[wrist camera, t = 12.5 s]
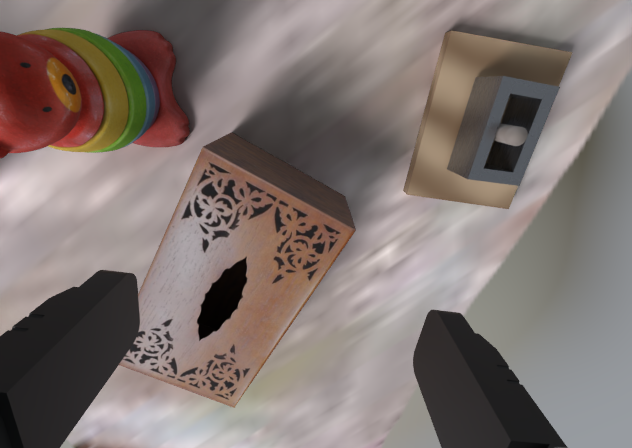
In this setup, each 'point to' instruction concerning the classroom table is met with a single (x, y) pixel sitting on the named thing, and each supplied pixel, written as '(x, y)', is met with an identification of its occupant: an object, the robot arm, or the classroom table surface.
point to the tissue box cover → (234, 269)
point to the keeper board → (449, 106)
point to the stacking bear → (87, 91)
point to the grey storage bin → (484, 120)
